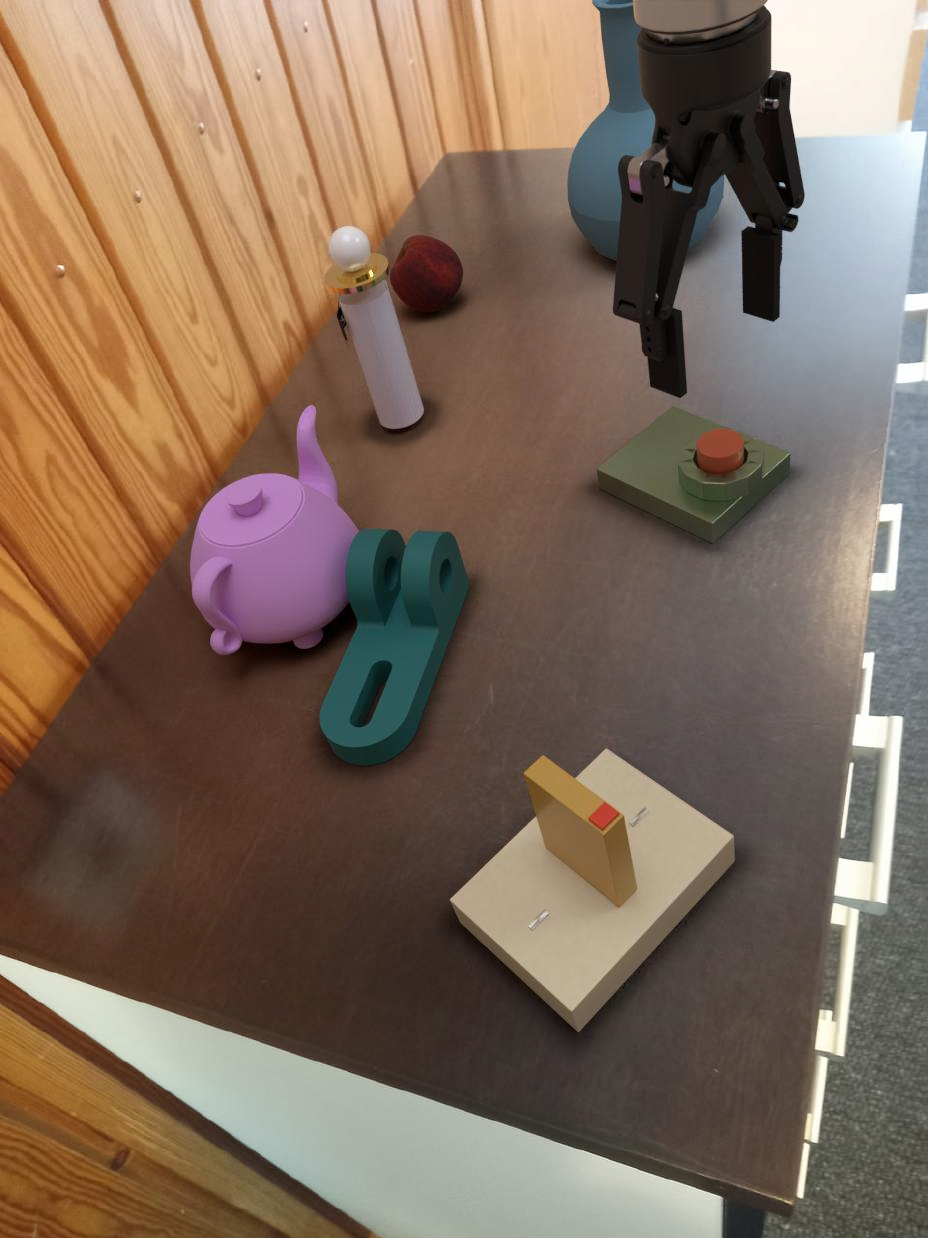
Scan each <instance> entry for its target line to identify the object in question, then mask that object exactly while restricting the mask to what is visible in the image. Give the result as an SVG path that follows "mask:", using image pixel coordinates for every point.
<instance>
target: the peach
mask: <svg viewBox="0 0 928 1238" xmlns="http://www.w3.org/2000/svg"><path fill="white" fill-rule="evenodd" d="M463 279H464V267H463V264H462V261H461V259H460V257H459V255H458V253H457V252H456V251H455V250H454V249H453V248H452V247H451V246H450V245H449V244H447V243H445V242H444V241H443V240H440V239H438V238H436V237H433V236H430V235H429V236H428V235H423V234H415V235H412V236H409V237H407V239H405V240H404V242H403V244H402V246H401V248H400V250H399V252H398V254H397V257H396V260H395V262H394V264H393V265H392V266H391V268H390V272H389V282H390V285H391V287H392V289H393V292H394V293H395V295H396V296H397V297H398V299H400V300H401V301H402V302H403V303H404V304H405V305H406V306H407V307H409V308H411V309H413V310H415V311H417V312H422V313H434V312H437V311H440V310H442V309H444V308H445V307H446V306H448V305H449V304H450V303H451V302H453V300H454V299H455V297H456V296H457V295H458V293H459V291H460V289H461V286H462V283H463Z"/></svg>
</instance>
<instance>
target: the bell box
mask: <svg viewBox="0 0 928 1238" xmlns="http://www.w3.org/2000/svg"><path fill="white" fill-rule="evenodd" d="M714 429H730V430H734V431H736V432H738V433H739V434H740V435H741V436H742V438H743V440H744V462H743V464H742V465H741V466H740V467H739V468H738V469H737V470H734V471H731V472H728V473H725V474H710V473H707V472H705V471H703V470H702V469H701V468H700V467H699V465H698V463H697V447H696V444H697V441H698V439H699V438H700V436H701V435H703V434H704V433H706V432H708V431H711V430H714ZM791 454H792V453H791V452H790V451H788V450H785V449H783V448H779V447H777V446H775V445H773V444H769V443H767V442H765V441H763V440H760V439H757V438H755V437H753V436H751V435H748V434H746V433H743V432H741V431H739V430H738V431H737V430H735V429H732V428H730V427H728V426H725V425H722V424H720V423H717V422H714V421H712V420H709V419H707V418H705V417H701V416H699V415H697V414H694V413H692V412H689V411H686V410H684V409H682V408H680V407H677V406H675V405H672V406H671V407H670V408H668V409H667V410H666V411H665V412H664V413H662V414H661V415H660V416H659V417H657V418H656V419H655V420H654V421H653V422H652V423H650V424H649V425H647V427H645V428H644V429H643V430H641V432H640V433H638V434H636V436H634V437H633V438H632V439H630V441H629V442H627V443H626V444H625V445H624V446H622V447H621V448H620V449H619V450H617V451H616V452H615V453H614V454H612V455H611V456H610V457H609V458H608V459H606V460H605V461H604V462H603V463H602V464H600V465H599V466H598V467H597V468H596V476H597V483H598V488H599V489H600V490H601V491H604V492H605V493H608V494H609V495H611V496H613V497H617V498H618V499H620V500H621V501H624V502H626V503H628V504H630V505H632V506H635V507H637V508H639V509H640V510H642V511H645V512H647V513H648V514H651V515H652V516H655V517H657V518H659V519H661V520H663V521H665V522H667V523H669V524H671V525H673V526H676V527H678V528H680V529H681V530H683V531H686V532H688V533H690V534H691V535H694V536H696V537H698V538H700V539H702V540H705V541H706V542H709V543H711V544H715V542H717V541H718V540H720V539H721V537H722V536H723V535H725V534H726V533H727V532H728V531H729V530H730V529H731V528H732V527H733V526H735V525H736V524H737V523H738V522H739V521H740V520H741V519H742V518H744V516H745V515H746V514H748V513H749V512H750V511H751V510H752V509H753V508H754V507H755V506H756V505H758V504H759V503H760V502H761V501H762V500H763V499H764V498H765V497H766V496H767V495H769V494H770V493H771V492H772V491H773V490H774V489H775V488H776V487H778V485H779V484H781V482H783V481H784V480H785V479H786V478H787V477H788V476H789V475H790V474H791Z"/></svg>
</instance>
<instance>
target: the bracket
mask: <svg viewBox="0 0 928 1238" xmlns="http://www.w3.org/2000/svg"><path fill="white" fill-rule="evenodd" d="M358 531H359V532H358V533H357V534H356V536H355V537H354V539H353V541H352V543H351V545H350V548H349V552H348V556H347V562H346V573H345V579H346V590H347V595H348V599H349V605H350V606H351V609H352V612H353V614H354V617H355V618H356V621H357V626H356V629H355V630H354V633H353V635H352V637H351V640H350V642H349V644H348V646H347V649H346V651H345V653H344V655H343V658H342V660H341V662H340V664H339V667H338V668H337V671H336V673H335V675H334V677H333V680H332V682H331V683H330V686H329V688H328V690H327V693H326V696H325V697H324V700H323V702H322V704H321V707H320V710H319V718H318V719H319V726H320V729H321V731H322V733H323V734H324V735H323V736H324V737H325V738H326V740H327V742H328V744H329V746H330V748H331V750H332V751H333V753H334V754H335V755H336V757H338V758H339V759H341V760H342V761H343V762H345V763H347V764H350V765H354V766H362V767H363V766H364V767H365V766H373V765H377V764H382V763H384V762H386V761H389V760H391V759H393V758H394V757H396V756H397V755H400V753H402V752H403V751H404V750H405V749H406V748H407V747H408V745H409V744H410V743H411V742H412V740H413V739H414V737H415V735H416V732H417V730H418V727H419V724H420V721H421V720H422V716H423V714H424V711H425V708H426V706H427V704H428V700H429V697H430V695H431V692H432V689H433V686H434V684H435V681H436V679H437V676H438V673H439V671H440V667H441V664H442V663H443V660H444V657H445V654H446V652H447V648H448V646H449V643H450V641H451V638H452V636H453V632H454V630H455V627H456V624H457V622H458V619H459V616H460V613H461V611H462V608H463V605H464V603H465V600H466V597H467V595H468V592H469V589H470V586H471V585H470V580H469V577H468V574H467V570H466V567H465V564H464V560H463V558H462V554H461V550H460V547H459V544H458V541H457V539H456V537H455V535H454V534H453V533H452V532H450V531H442V530H416V531H415V532H413V533H412V535H411V536H410V537H409V538H408V540H407V543H406V542H405V540H404V538H403V536H402V534H401V533H400V532H399V531H398V530H396V529H391V528H389V529H388V528H362V529H360V530H358ZM384 682H386V683H385V685H384V688H383V691H382V693H381V695H380V698H379V701H378V702H377V706H376V707H375V710H374V711H373V715H372V717H371V720H370V722H368V723H367V724H366V725H365V723H366V720H367V717H368V715H369V712H370V710H371V708H372V704H373V703H374V700H375V698H376V696H377V693H378V691H379V688H380V686H381V685H382V683H384Z"/></svg>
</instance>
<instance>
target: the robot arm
mask: <svg viewBox="0 0 928 1238" xmlns="http://www.w3.org/2000/svg"><path fill="white" fill-rule="evenodd" d="M768 1H769V0H633V8H634V17H635V21H636V23H637V24H638V25H639V26H641V27H642V29H641V31H640V33H639V34H638V37H637V48H638V60H639V72H640V84H641V92H642V95H643V97H644V99H645V100H646V101H647V103H648V104H649V106H650V107H651V109H652V111H653V113H654V115H655V127H654V133H653V137H652V143H651V147H650V148H648V149H647V150H646V151H645V152H643V153H642V154H641V155H640V156H638V157H635V156H630V155H624V156H623V157H622V158H621V159H620V161H619V164H618V174H619V181H620V187H621V193H622V203H621V215H620V227H619V239H618V251H617V261H616V264H615V277H614V288H613V300H612V303H613V304H612V314H613V315H614V316H617V317H619V318H622V319H625V320H628V321H631V322H633V323H635V324H639V333H640V342H641V343H640V344H641V352H642V354H643V356H644V357H646V359H647V368H648V380H649V387H650V388H652V389H655V390H658V391H661V392H663V393H665V394H667V395H671V396H672V397H675V398H678V399H682V398H683V397H684V396H685V395H686V394H688V384H687V382H688V381H687V369H686V355H685V354H686V351H685V338H684V337H685V336H684V323H683V310H682V309H678V308H675V307H674V305H675V301H676V297H677V293H678V290H679V285H680V281H681V278H682V274H683V270H684V266H685V262H686V259H687V255H688V251H689V249H688V248H689V244H690V240H691V236H692V232H693V228H694V225H695V221H696V217H697V213H698V211H699V210H701V209H703V208H704V207H705V206H706V204H707V201H708V198H709V194H710V190H711V186H712V185H714V184H715V183H716V182H717V180H718V179H719V178H720V177H721V176H722V175H724V177H726V179H727V182H728V183H729V185H730V187H731V188H732V191H733V193H734V195H735V196H736V198H737V200H738V202H739V203H740V205H741V207H742V209H743V212H744V213H745V215H746V216H747V219H748V220H749V222H750V223H751V224H754V227H753V226H750V225H748V226H746V227H745V228H743V229H742V230H741V231H740V233H741V277H742V278H741V287H742V288H741V289H742V291H741V292H742V313H743V314H745V315H749V316H753V317H756V318H759V319H762V320H766V321H769V322H771V323H775V321H777V320H779V318H780V317H781V316H780V315H781V265H782V260H783V231H784V232H788V233H792V232H794V231H795V230H796V228H797V226H798V223H799V215H798V214H794V213H790V212H791V211H792V209H796V210H798V209H800V208H801V207H802V206H803V204H804V201H805V189H804V183H803V177H802V171H801V165H800V158H799V153H798V146H797V141H796V136H795V130H794V126H793V125H794V124H793V119H792V113H791V108H790V107H791V89H792V75H791V73H790V72H789V71H783V70H777V69H772V22H773V21H772V13H771V12H770V10H769V9H768V8H767V7H766V6H765V5H766V4H767V2H768ZM673 180H674V181H675V182H676V183H678V184H679V185H682V186H686V187H691V188H692V190H691V192H690V193H686V192H681V191H677V190H674V189H673V187H672V185H673ZM781 184H783V185H781ZM656 296H657V297H656Z"/></svg>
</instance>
